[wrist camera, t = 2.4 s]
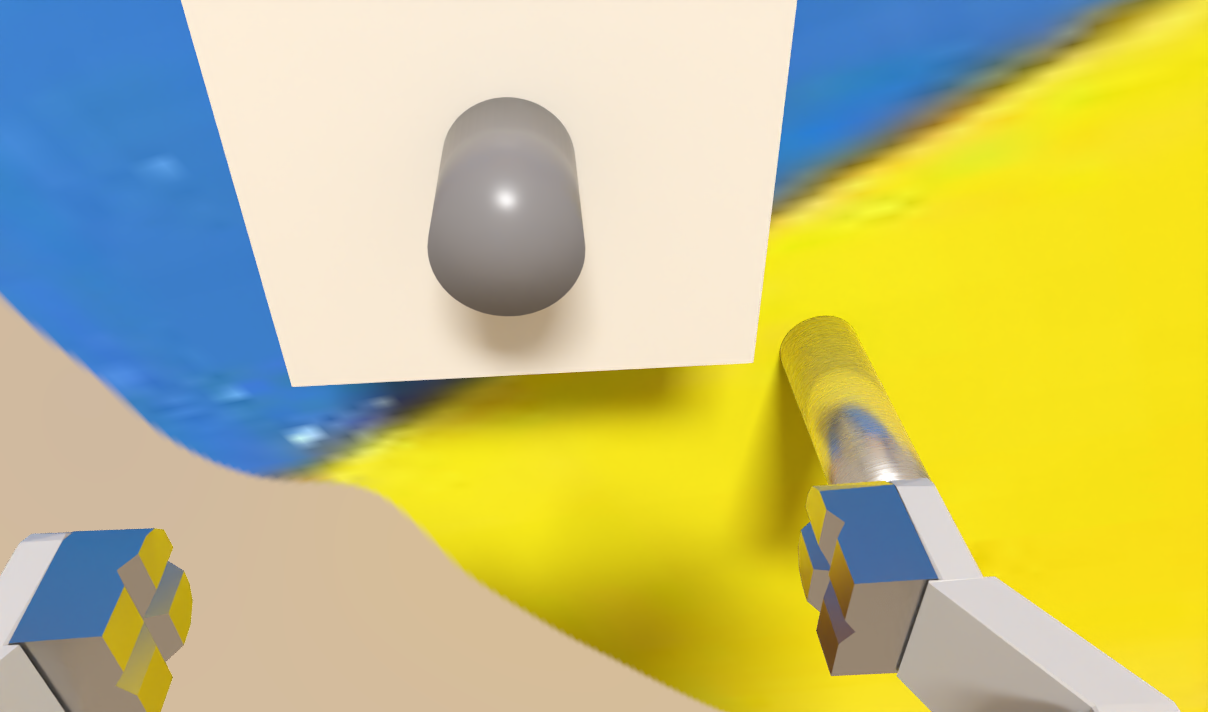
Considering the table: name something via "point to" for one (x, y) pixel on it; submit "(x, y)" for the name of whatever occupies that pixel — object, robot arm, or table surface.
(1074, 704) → the robot arm
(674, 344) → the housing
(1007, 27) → the table surface
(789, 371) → the steel pin
